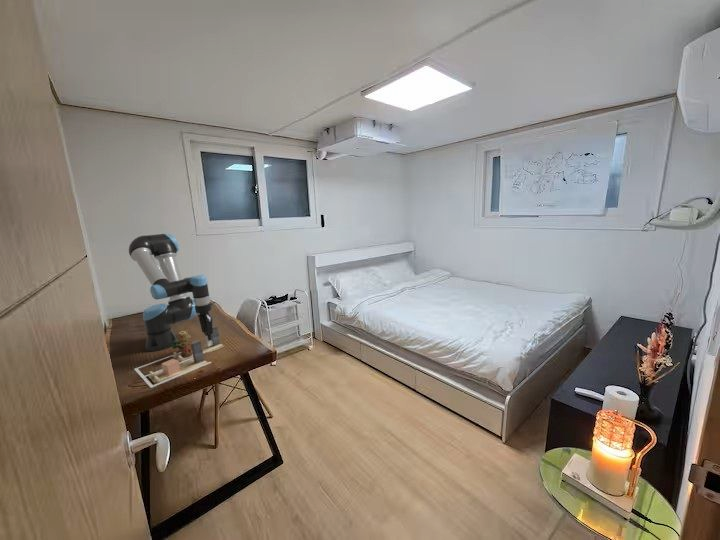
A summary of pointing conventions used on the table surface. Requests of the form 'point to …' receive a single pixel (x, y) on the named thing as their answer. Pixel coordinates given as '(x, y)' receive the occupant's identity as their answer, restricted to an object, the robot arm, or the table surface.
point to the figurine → (183, 344)
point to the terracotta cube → (171, 367)
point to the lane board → (162, 370)
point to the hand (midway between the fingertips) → (209, 345)
